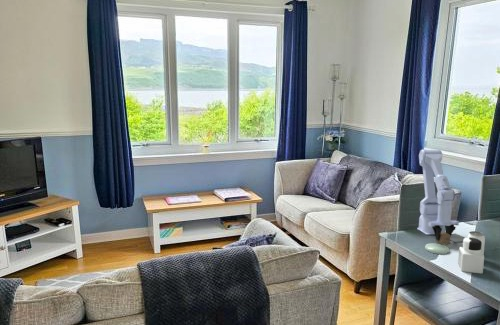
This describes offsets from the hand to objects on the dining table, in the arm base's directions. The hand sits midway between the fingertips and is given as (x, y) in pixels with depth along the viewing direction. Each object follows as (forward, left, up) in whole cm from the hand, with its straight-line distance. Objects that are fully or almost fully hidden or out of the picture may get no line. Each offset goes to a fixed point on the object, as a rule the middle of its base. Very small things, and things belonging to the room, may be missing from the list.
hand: (442, 239), depth 183 cm
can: (+20, +2, -2) cm, 20 cm away
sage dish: (+8, -8, -1) cm, 11 cm away
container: (+28, -6, -2) cm, 29 cm away
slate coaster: (-3, +9, -1) cm, 10 cm away
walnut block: (0, 0, -1) cm, 1 cm away
